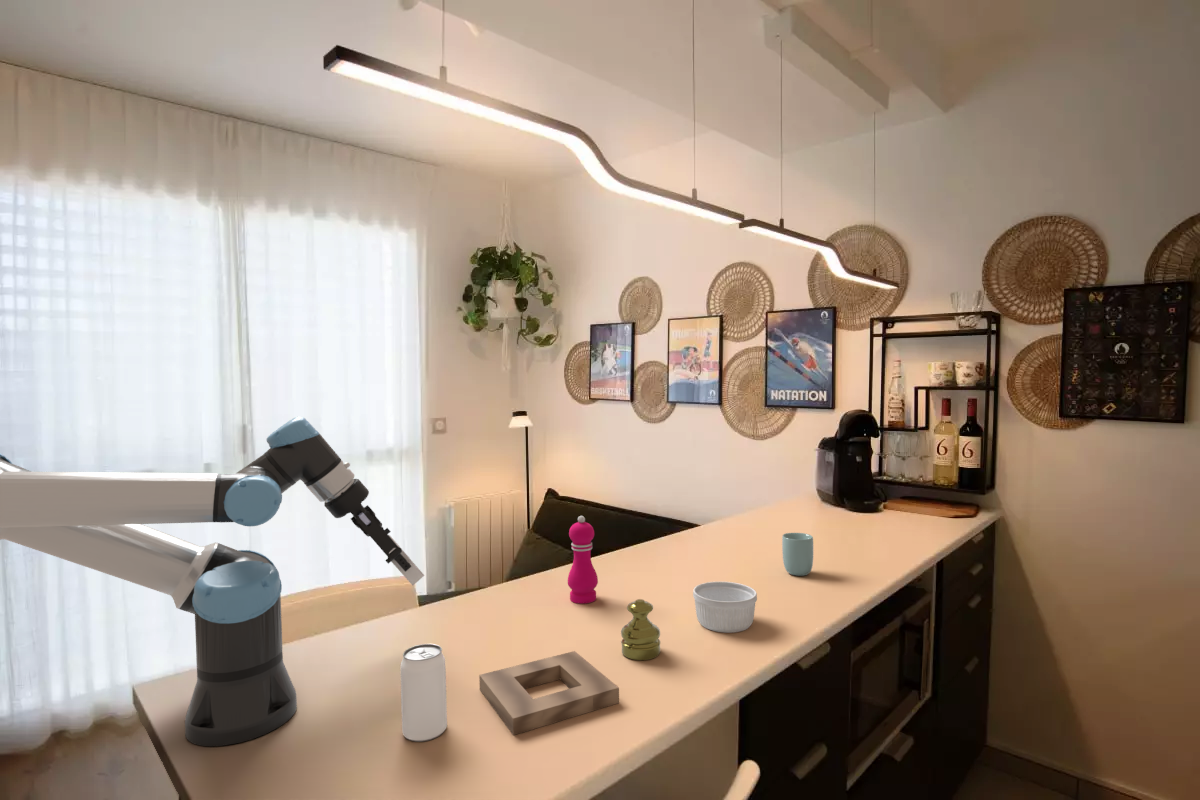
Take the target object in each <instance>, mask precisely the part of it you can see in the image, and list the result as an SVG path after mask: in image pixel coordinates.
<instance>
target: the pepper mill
mask: <svg viewBox="0 0 1200 800" xmlns="http://www.w3.org/2000/svg"><path fill="white" fill-rule="evenodd" d="M568 531H569V532H568V536H569V538H570V540H571V541H572V542H571V544H570V545H571V550H572V551H573V561H572V564H571V567H570V570H569V573H568V576H567V585H568V587H569V588H570V589H571V590H570V591H569V600H570V602H573V603H575V604H582V605H583V604H584V605H585V604H589V603H594V602H595V601H596V600H597V591H596V590H595V588H596V587H597V586H598V585H599V580H598V579H599V578H598V574H597V571H596V570H595V569H596V568H594V565H593V563H592V558H591V554H592V553H591V551H592V549H593V541H592V540H593V539H594V537H595V530H594V527H593V526H592V525H591V524H590V523H588V522H586V518H585V517H584V516H583V515H580V516H578V517H577V522H575V523H572V525H571V526H570V528H569V530H568Z"/></svg>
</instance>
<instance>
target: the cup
mask: <svg viewBox="0 0 1200 800" xmlns="http://www.w3.org/2000/svg"><path fill="white" fill-rule="evenodd" d="M781 539H782V540H781V541H782V542H781V545H782V550H781V551H782V561H783V566H784V569H785V571H786V572H787V573H789V574H790V575H792V576H795V577H796V576H797V577H803V576H807V575H808V574H810V573H811V572H812V569H813V565H814V537H813V535H811V534H808V533H805V532H787V533H786V532H785V533H784V534H782V538H781Z"/></svg>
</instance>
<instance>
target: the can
mask: <svg viewBox="0 0 1200 800" xmlns="http://www.w3.org/2000/svg"><path fill="white" fill-rule="evenodd" d="M442 648H443V647H442V646H441V645H438V644H435V643H421V644H418V645H417V644H416V645H413V646H410V647H409V648H407V649H405V650H404V651H403V653H402V656H403V658H402V660H401V662H400V665H399V666H400V668H399V669H400V670H399V671H400V697H401V698H400V702H401V729H402V735H403V737H405V739H407V740H408V741H410V742H415V743H421V742H428V741H431V740H434V739H436V738H438V737H440V736H441V735H442V734H443V733H444V732H445V730H447V727H448V711H447V710H448V709H447V708H448V707H447V705H448V704H447V703H448V702H447V675H446V673H447V671H446V669H447V668H446V658H445V655H444V653H443V652H442V651H443V649H442Z"/></svg>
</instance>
